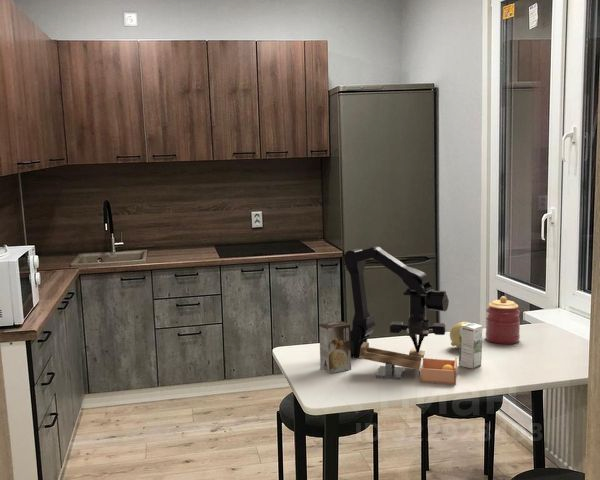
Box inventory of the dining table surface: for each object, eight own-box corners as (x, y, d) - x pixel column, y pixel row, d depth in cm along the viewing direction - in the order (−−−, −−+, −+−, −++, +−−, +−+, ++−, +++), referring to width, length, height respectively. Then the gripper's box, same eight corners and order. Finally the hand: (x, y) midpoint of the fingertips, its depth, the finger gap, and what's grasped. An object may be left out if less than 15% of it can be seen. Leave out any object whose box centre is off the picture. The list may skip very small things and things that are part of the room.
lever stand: (376, 378, 213) (376, 363, 212) (380, 368, 222) (380, 354, 222) (400, 379, 211) (400, 365, 210) (403, 370, 220) (403, 356, 219)
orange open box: (420, 382, 208) (420, 365, 208) (423, 370, 219) (423, 355, 218) (455, 384, 205) (455, 368, 205) (456, 373, 216) (456, 357, 215)
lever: (359, 358, 215) (360, 346, 215) (367, 344, 231) (368, 333, 231) (420, 370, 210) (422, 358, 210) (424, 355, 226) (425, 344, 226)
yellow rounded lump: (486, 348, 243) (486, 321, 241) (464, 354, 236) (464, 326, 235) (466, 342, 251) (466, 316, 250) (444, 348, 244) (444, 321, 243)
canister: (526, 342, 250) (528, 298, 248) (497, 346, 246) (498, 301, 244) (506, 334, 262) (508, 291, 260) (479, 337, 259) (479, 294, 256)
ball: (439, 374, 210) (444, 364, 209) (439, 370, 214) (445, 360, 213) (450, 380, 209) (456, 370, 208) (450, 376, 213) (456, 366, 212)
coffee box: (342, 364, 227) (341, 320, 225) (351, 369, 222) (351, 324, 220) (319, 368, 223) (318, 323, 221) (328, 374, 217) (328, 328, 215)
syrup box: (467, 361, 228) (467, 322, 226) (482, 365, 224) (482, 324, 222) (458, 365, 224) (458, 325, 222) (473, 369, 220) (474, 328, 218)
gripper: (387, 312, 217) (388, 357, 219) (443, 314, 212) (443, 360, 214) (391, 305, 228) (392, 348, 230) (445, 307, 223) (445, 350, 225)
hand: (417, 352), depth 224 cm, fingers closed, pressing on lever
